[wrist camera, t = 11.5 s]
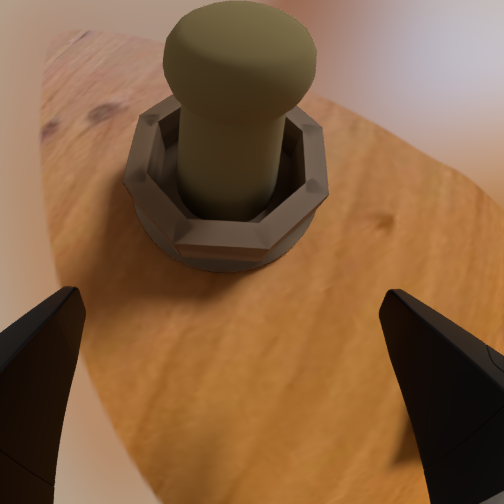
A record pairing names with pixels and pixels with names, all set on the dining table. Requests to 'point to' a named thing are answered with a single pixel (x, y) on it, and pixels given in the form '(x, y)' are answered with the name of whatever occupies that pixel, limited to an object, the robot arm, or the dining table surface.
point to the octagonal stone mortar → (224, 232)
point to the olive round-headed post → (234, 102)
